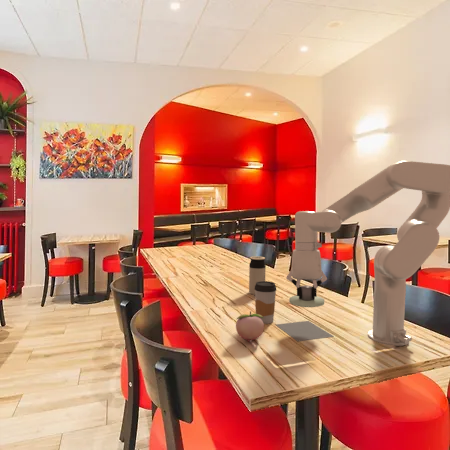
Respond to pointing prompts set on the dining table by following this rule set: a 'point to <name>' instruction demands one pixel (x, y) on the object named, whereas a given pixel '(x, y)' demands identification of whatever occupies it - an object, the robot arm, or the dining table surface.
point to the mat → (304, 331)
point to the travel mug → (256, 272)
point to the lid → (306, 298)
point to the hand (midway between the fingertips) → (306, 297)
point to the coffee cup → (265, 300)
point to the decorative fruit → (249, 326)
